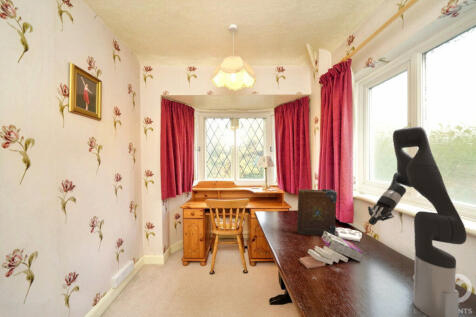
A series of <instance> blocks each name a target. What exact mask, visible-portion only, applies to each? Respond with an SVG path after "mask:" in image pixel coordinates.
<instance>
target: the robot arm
mask: <svg viewBox="0 0 476 317" xmlns="http://www.w3.org/2000/svg"><path fill="white" fill-rule="evenodd" d="M392 141H393V142H392V143H393V147H394V148H393V149H394V154H395V158H396V172H395V173H394V175H393V177H392V180H391V183H390V185H389V186H388V188H387V189H386V190H385V191H384V192H383V193H382V195H381V196H380V197H379V198H378V200H376V204H375V205H373V206H372V207H371V206H367V209H368V214H369V216H370V218H369V219H368V223H369V225H372V226H374V225H376V224H377V222H379V221H381V222H384V221H386V220H390V219H393V218H395V216H394V215H393V212H392V211H393V210H395V208H396V207H397V205H398V204H399V203H400V201H401V200H402V198H403V196H404V195H405V194H406V192H407V189H406V187H408V188H413V189H414V190H415V191H416V192H417V193H418V194H420V195H421V196H422V197H424V198H425V199H426V200H427V201H428V202H429V203H430V204H431V205H432V206H433V207H434V209H435V211H436V212H432V211H423V210H422V211H421V210H420V211H417V212H416V213H415V215H414V218H413V226H414V227H413V230H414V276H413V277H414V278H413V305H414V306H415V308H416V309H417V310H419V311H420V312H421V313H422V314H424V315H426V316H428V317H459V301H460V300H459V298H460V292H459V290H457V289H456V277H457V276H456V274H457V273H456V272H457V260H456V257H454V255H452V254H451V253H449V252H447V251H445V250H443V249H440V248H439V247H437V246H434V245H433V241H434V242H439V243H446V244H452V245H463V244H465V243H466V241H467V230H466V228H465V224H464V222H463V220H462V218H461V216H460V214H459V213H458V211H457V209H456V207H455V205H454V203H453V201H452V199H451V198H450V195H449V193H448V190H447V188H446V186H445V183H444V180H443V177H442V173H441V172H440V171H441V170H440V169H439V167H438V165H437V162H436V160H435V157H434V155H433V153H432V149H431V145H430V142H429V139H428V134H427V132H426V130H425V128H424V127H423V126H410V127H404V128H398V129H394V131H393V133H392ZM416 147H417V148H418V149H417V151H416V153H415V155H414V156H412V155H410V154H409V153H407V152H406V150H404V149H406V148H416Z"/></svg>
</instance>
